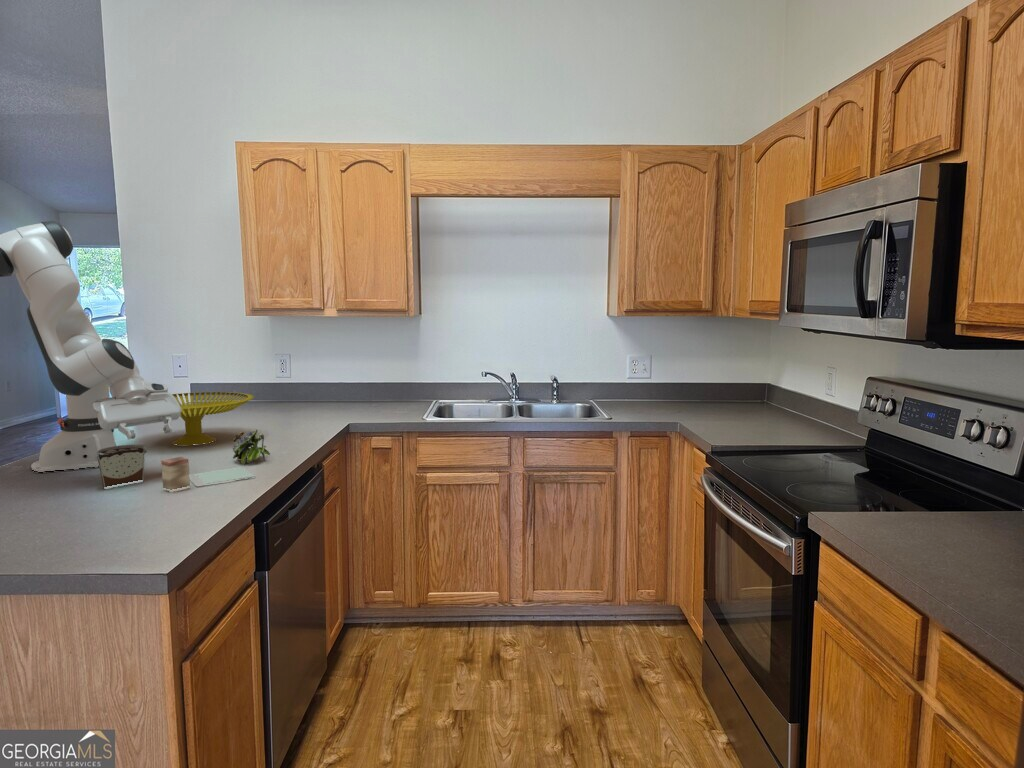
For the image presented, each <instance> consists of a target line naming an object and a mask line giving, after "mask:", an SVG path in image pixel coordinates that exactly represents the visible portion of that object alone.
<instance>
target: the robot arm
mask: <svg viewBox="0 0 1024 768" xmlns="http://www.w3.org/2000/svg"><path fill="white" fill-rule="evenodd" d="M73 250H74V245H73V238H72V236H71V234H70V233H69V231H68V230H67V229H66V228H65V227H64V226H62V224H61V223H60V222H57V221H55V220H45V221H41V222H40V223H35V224H30V225H25V226H21V227H16V228H15V229H12V230H9V231H6V232H3V233H1V234H0V278H3V277H6V278H7V277H11V276H12V275H15V277H16V279H17V282H18V284H19V286H20V289H21V291H22V292H23V294H24V296H25V299H27V302H29V305H28V307H27V308H26V312H27V317H28V318H27V319H28V321H29V324H30V326H31V330H32V332H33V334H34V337H35V340H36V342H37V345H38V348H39V349H40V350H39V351H40V352H41V355H42V357H43V360H44V362H45V364H46V365H45V366H46V368H47V374H48V377H49V380H50V381H51V384H52V385H53V387H54V388H55V390H57V391H58V392H59V394H62V395H65V399H66V409H67V410H66V412H67V417H65V418H63V417H61V418H58V419H57V424H58V426H59V427H60V431H59V432H58V433H57V434H56V435H54V436H53V437H51V438H50V439H49V440H48V441H46V442H45V443H44V444H43V445H42V446H41V448H40V451H39V457H38V459H39V460H36V461H34V462H33V463H31V465H30V469H31V468H32V470H34V471H38V472H43V471H54V470H64V471H66V470H65V469H74V470H80V469H79V468H85V469H87V468H86V467H95V468H98V467H97V466H99V463H98V458H97V461H95V455H96V453H97V451H98V450H100V449H104V448H108V447H113V446H117V444H116V441H115V434H114V432H115V429H117V430H118V432H120V433H121V434H123V435H124V436H126V438H127V440H133V439H135V438H136V433H135V430H134V429H129V427H135V426H142V425H150V424H155V423H164V426H163V427H162V430H163V433H164V434H171V433H172V431H173V428H172V425H171V424H172V421H176V420H178V419H179V417H180V414H181V412H182V409H181V407H180V405H179V403H178V401H177V400H176V398H175V397H174V396H173V395H172V394H173V393H172V392H169V387H168V386H167V384H164V383H156V382H151V381H146V380H145V379H144V378H143V377H142V376H141V374H140V370H139V367H138V366H137V364H136V362H135V360H134V358H133V356H132V354H131V352H130V351H129V349H128V348H127V347H126V346H125V345H124V344H122V343H121V342H120V341H117V340H114V339H111V338H101V337H100V335H99V333H98V332H97V330H96V329H95V327H94V325H93V323H92V322H91V320H90V318H89V316H88V315H87V313H86V312H85V310H84V308H83V307H82V305H81V303H80V302H79V300H78V297H79V294H80V290H81V284H80V281H79V279H78V278H77V277H78V276H77V275H76V274H75V272H74V270H73V269H72V267H71V266H70V264H69V263H68V261H67V260H66V259H67V258H68V257H69V256H71V254H72V252H73ZM110 395H111V397H110ZM32 470H31V471H32ZM34 471H33V472H34ZM38 472H37V473H38ZM54 472H55V471H54ZM43 473H44V472H43Z"/></svg>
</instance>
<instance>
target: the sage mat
mask: <svg viewBox="0 0 1024 768" xmlns="http://www.w3.org/2000/svg"><path fill="white" fill-rule="evenodd" d="M192 474H193V475H195V476H197V475H199V478H201V477H202V478H201V479H203V482H204V483H203V484H210V483H211V482H212V483H215V482H222V481H229V480H236V479H245V478H252V477H255V478H256V476H255V475H254V474H253V473H251V472H250V471H248V470H247V469H246V468H245V467H243V466H238V467H233V468H232V467H231V468H226V469H225V468H224V469H218V470H211V471H205V472H197V473H189V475H190V476H191V475H192ZM217 480H219V481H217ZM205 481H207V482H205ZM213 481H215V482H213ZM209 482H210V483H209Z"/></svg>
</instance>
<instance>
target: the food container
mask: <svg viewBox="0 0 1024 768" xmlns="http://www.w3.org/2000/svg"><path fill="white" fill-rule="evenodd" d="M145 453H146V454H147V453H148V451H147V447H146V446H145V445H142V444H123V445H116V446H113V447H108V448H104V449H100V450H98V451H97V453H96V455H95V461H97V458H98V463H99V467H98V468H99V472H100V477H101V481H102V486H103V487H107V486H112V485H117V484H122V483H128V482H133V481H138V480H143V481H144V479H145V478H144V475H145V474H144V472H145ZM103 487H102V488H103Z"/></svg>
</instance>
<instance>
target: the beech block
mask: <svg viewBox="0 0 1024 768" xmlns="http://www.w3.org/2000/svg"><path fill="white" fill-rule="evenodd" d="M160 461H161V475H162V479H161V480H162V489H163V488H166V489H170V490H172V489H177V488H182V487H187V486H190V487H191V482H190V477H189V475H190V465H189V463H190V462H189V458H185V457H182V456H178V457H172V458H168V459H162V460H160Z"/></svg>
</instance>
